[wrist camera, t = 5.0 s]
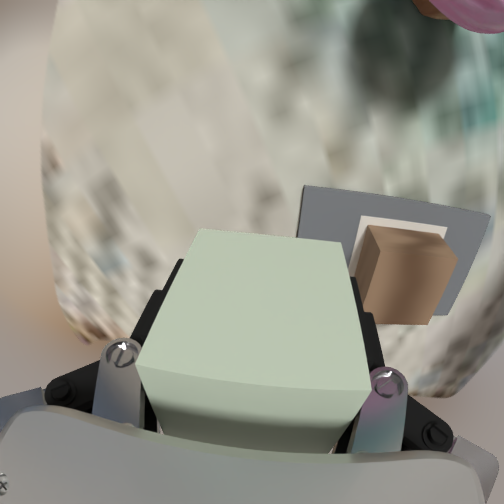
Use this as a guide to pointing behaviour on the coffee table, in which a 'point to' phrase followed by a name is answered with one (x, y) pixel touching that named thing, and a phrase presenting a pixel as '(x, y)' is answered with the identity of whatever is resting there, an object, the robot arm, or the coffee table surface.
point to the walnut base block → (403, 274)
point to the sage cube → (257, 345)
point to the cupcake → (467, 13)
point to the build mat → (391, 215)
